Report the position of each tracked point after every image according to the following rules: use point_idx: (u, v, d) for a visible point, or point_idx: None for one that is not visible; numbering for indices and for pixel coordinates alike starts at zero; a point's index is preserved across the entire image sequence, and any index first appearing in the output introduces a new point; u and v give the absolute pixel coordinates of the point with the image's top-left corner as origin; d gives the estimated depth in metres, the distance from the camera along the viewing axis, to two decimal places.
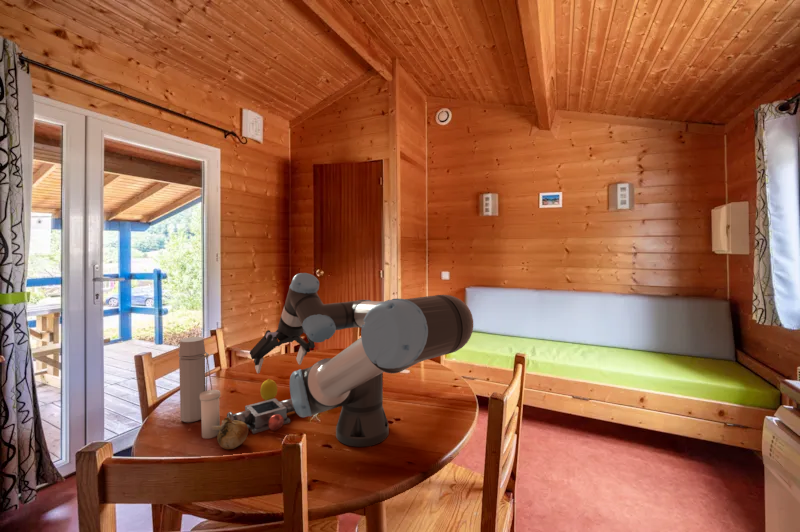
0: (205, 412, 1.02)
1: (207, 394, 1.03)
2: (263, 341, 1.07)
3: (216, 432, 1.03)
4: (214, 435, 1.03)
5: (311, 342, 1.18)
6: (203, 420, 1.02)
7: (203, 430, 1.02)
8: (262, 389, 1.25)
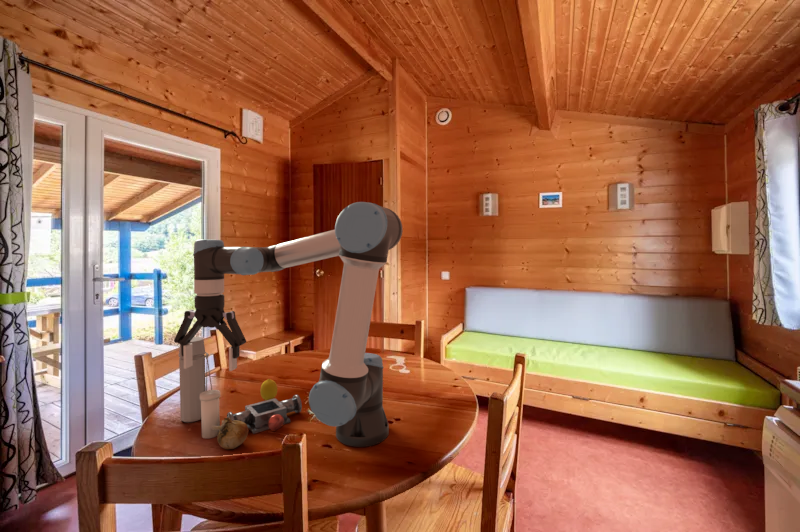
0: (205, 412, 1.02)
1: (207, 394, 1.03)
2: None
3: (216, 432, 1.03)
4: (214, 435, 1.03)
5: (235, 334, 1.01)
6: (203, 420, 1.02)
7: (203, 430, 1.02)
8: (262, 389, 1.25)
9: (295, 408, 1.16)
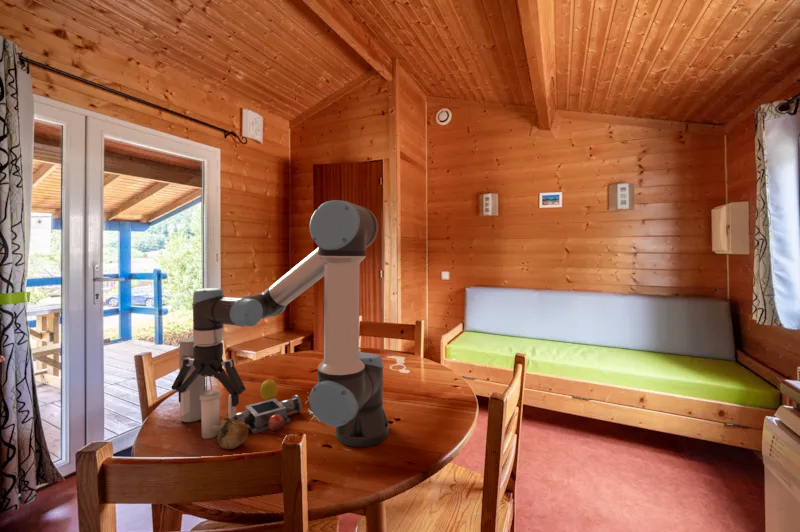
0: (205, 412, 1.02)
1: (207, 394, 1.03)
2: None
3: (216, 432, 1.03)
4: (214, 435, 1.03)
5: (234, 383, 1.02)
6: (203, 420, 1.02)
7: (203, 430, 1.02)
8: (262, 389, 1.25)
9: (295, 408, 1.16)
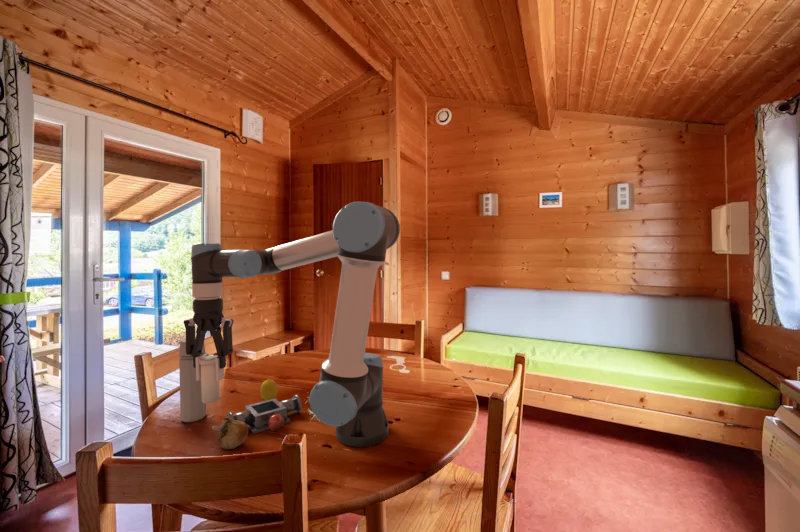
0: (205, 377, 1.01)
1: (207, 358, 1.03)
2: None
3: (216, 397, 1.03)
4: (214, 400, 1.03)
5: (225, 343, 1.01)
6: (203, 385, 1.02)
7: (203, 395, 1.02)
8: (262, 389, 1.25)
9: (295, 408, 1.16)
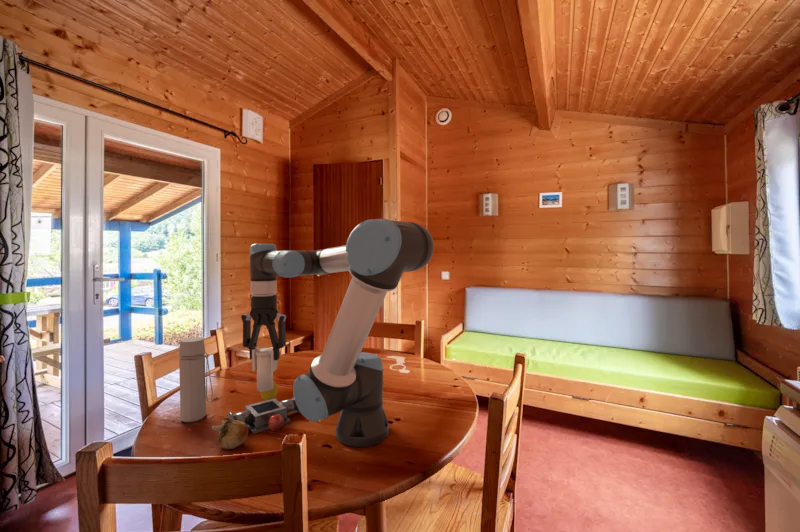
0: (261, 367, 1.09)
1: (262, 351, 1.11)
2: None
3: (270, 386, 1.11)
4: (269, 389, 1.11)
5: (280, 337, 1.09)
6: (259, 375, 1.10)
7: (259, 384, 1.10)
8: None
9: (295, 408, 1.16)
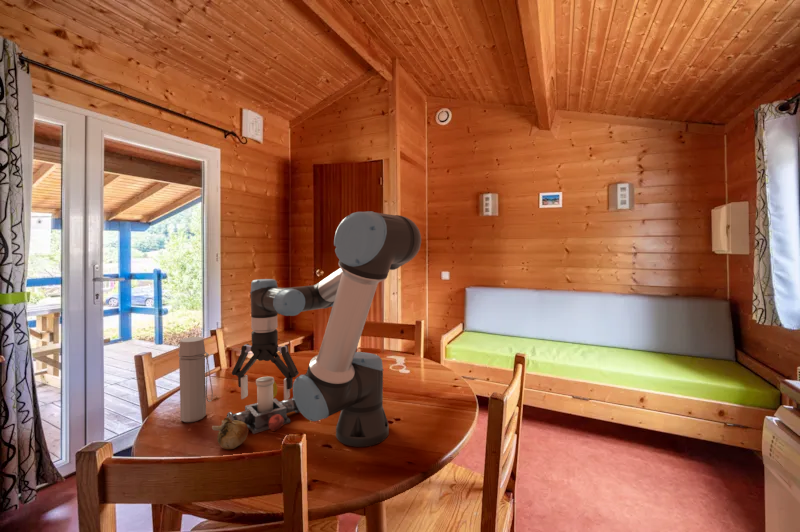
0: (261, 397, 1.10)
1: (263, 380, 1.11)
2: None
3: None
4: None
5: (289, 367, 1.10)
6: (259, 404, 1.10)
7: None
8: None
9: (295, 408, 1.16)
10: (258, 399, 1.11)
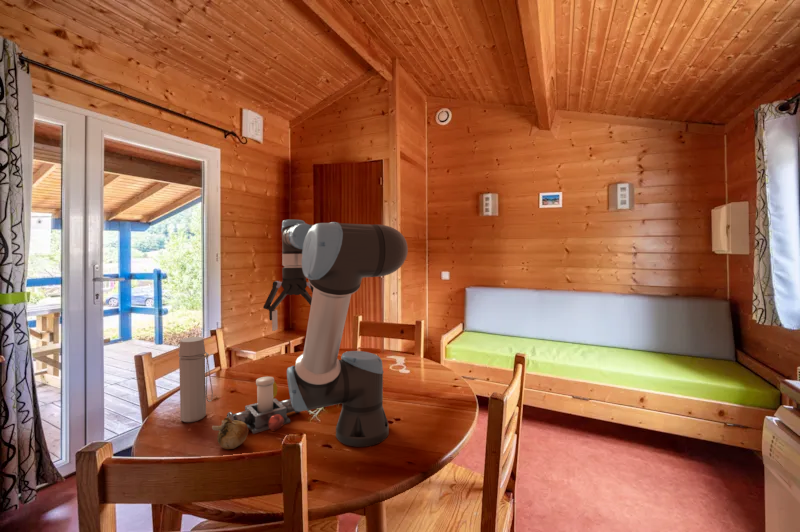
0: (261, 397, 1.10)
1: (263, 380, 1.11)
2: None
3: None
4: None
5: None
6: (259, 404, 1.10)
7: None
8: None
9: None
10: (258, 399, 1.11)
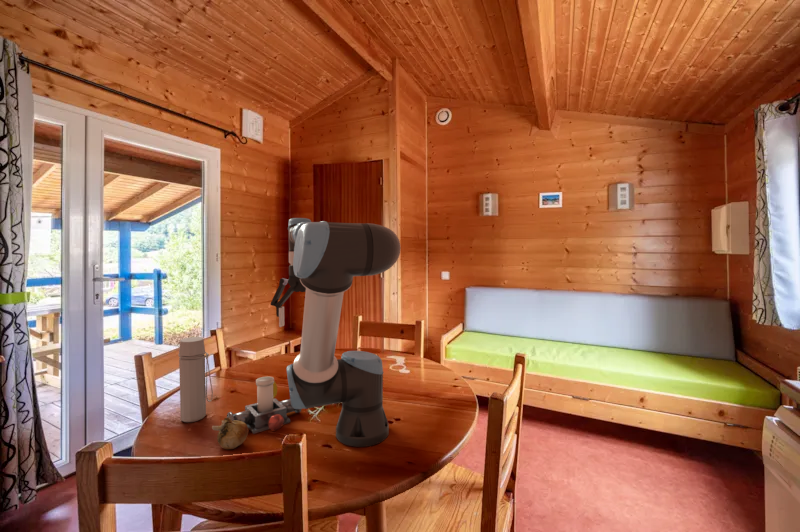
0: (261, 397, 1.10)
1: (263, 380, 1.11)
2: None
3: None
4: None
5: None
6: (259, 404, 1.10)
7: None
8: None
9: None
10: (258, 399, 1.11)
